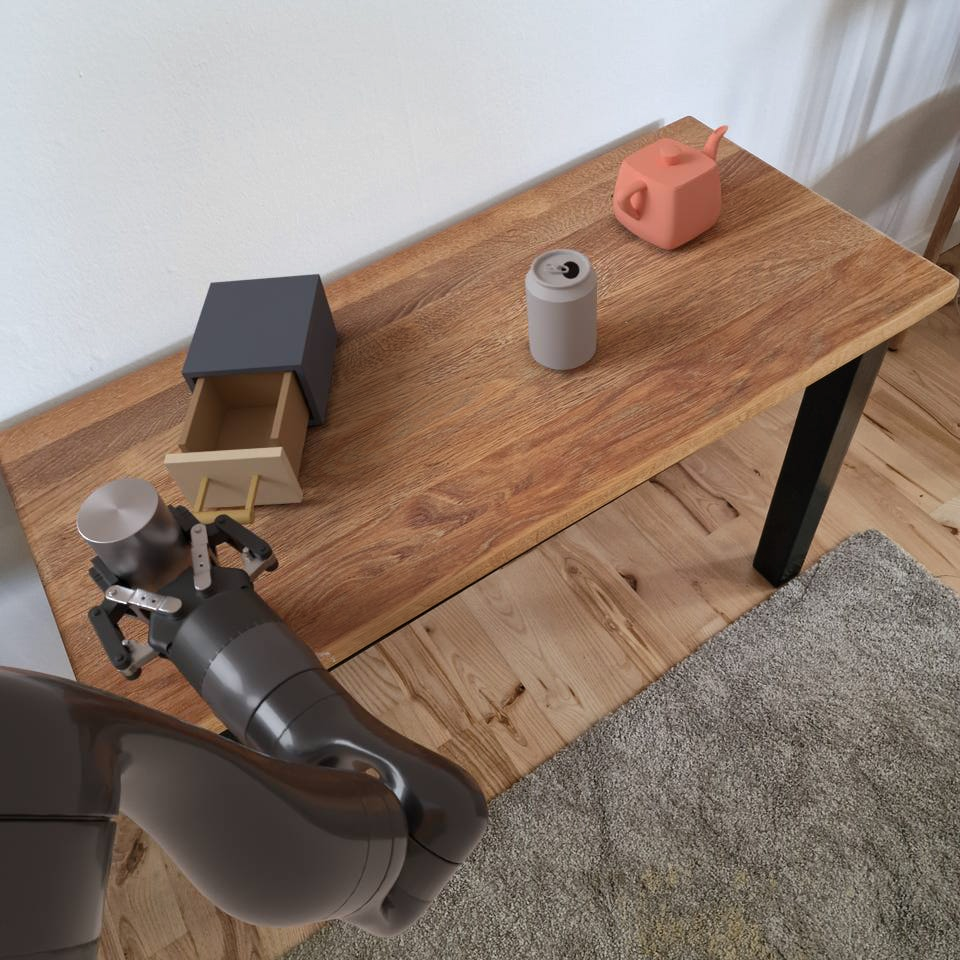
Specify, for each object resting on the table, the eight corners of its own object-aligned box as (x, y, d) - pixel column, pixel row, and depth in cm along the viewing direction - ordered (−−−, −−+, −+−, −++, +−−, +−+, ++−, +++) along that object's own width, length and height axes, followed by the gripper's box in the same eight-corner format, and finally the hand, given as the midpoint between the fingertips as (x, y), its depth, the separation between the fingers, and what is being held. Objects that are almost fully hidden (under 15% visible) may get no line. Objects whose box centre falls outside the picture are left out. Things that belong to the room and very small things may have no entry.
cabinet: (323, 424, 90) (301, 364, 83) (212, 432, 91) (180, 372, 84) (338, 335, 100) (319, 273, 92) (236, 342, 101) (210, 282, 93)
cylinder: (159, 655, 72) (64, 545, 59) (176, 595, 76) (90, 479, 63) (226, 652, 71) (146, 540, 58) (239, 592, 75) (166, 475, 62)
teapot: (586, 232, 107) (586, 158, 99) (687, 176, 113) (695, 102, 105) (648, 272, 101) (654, 197, 93) (751, 211, 106) (765, 135, 98)
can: (598, 373, 91) (600, 286, 82) (530, 377, 92) (524, 291, 82) (593, 327, 96) (594, 240, 86) (529, 332, 96) (523, 245, 87)
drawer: (293, 548, 79) (271, 503, 74) (179, 554, 80) (148, 510, 75) (318, 405, 91) (300, 356, 85) (218, 411, 92) (194, 364, 86)
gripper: (319, 574, 58) (193, 455, 66) (141, 718, 52) (28, 569, 61) (343, 626, 64) (224, 511, 72) (185, 761, 58) (76, 619, 66)
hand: (135, 538), depth 66 cm, fingers closed on cylinder, 6 cm apart
